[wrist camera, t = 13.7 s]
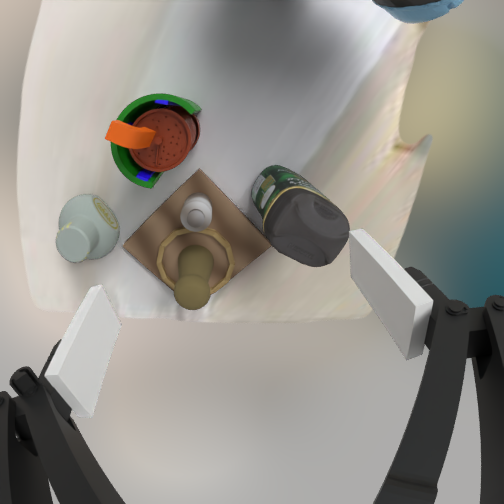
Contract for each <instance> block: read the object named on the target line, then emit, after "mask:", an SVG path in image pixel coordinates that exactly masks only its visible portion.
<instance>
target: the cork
mask: <svg viewBox="0 0 504 504" xmlns="http://www.w3.org/2000/svg"><path fill="white" fill-rule="evenodd" d="M213 265H214V259H213V255H212V254H211V252H210V251H209V250H208V249H206V248H205V247H203V246H200V245H191V246H187V247H186V248H184V249H183V250H182V251H181V252H180V254H179V257H178V274H179V280H178V281H177V282H176V284H175V287H174V297H175V299H176V301H177V303H178V304H179V305H180V306H182V307H183V308H185V309H188V310H197V309H200V308H202V307H203V306H205V305H206V304H207V303H208V301H209V298H210V286H209V284H208V282H209V279H210V275H211V272H212V269H213Z"/></svg>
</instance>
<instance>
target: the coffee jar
mask: <svg viewBox="0 0 504 504" xmlns="http://www.w3.org/2000/svg"><path fill="white" fill-rule="evenodd" d="M252 199H253V202H254V204H255V206H256V207H257V209H258V211H259V213H260V214H261V216H262V219H263V230H264V233H265V235H266V237H267V239H268V240H269V242H270V243H271V245H272V246H273V247H274V248H275V249H276V250H277V251H278V252H280V253H282V254H284V255H286V256H288V257H290V258H292V259H294V260H296V261H298V262H300V263H302V264H305V265H308V266H312V267H321V266H325V265H327V264H330V263H331V262H332V261H333V260H334V259H335V258H336V257H337V255H338V254H339V253H340V251H341V250H342V248H343V247H344V245H345V244H346V242H347V240H348V238H349V231H350V227H349V222H348V220H347V218H346V216H345V215H344V214H343V213H342V211H341V210H340V209H339V208H338V207H337V206H336V205H334V204H333V203H332V202H331V201H330V200H329V199H328V198H327V197H326V196H324V195H323V194H322V193H321V192H320V191H319V190H318V189H316V188H315V187H314V186H313V185H311V184H310V183H309V182H308V181H307V180H305V179H304V178H303V177H301V176H300V175H298V174H297V173H295V172H293V171H291V170H289V169H287V168H285V167H282V166H278V165H274V166H270V167H268V168H266V169H265V170H264V171H263V172H262V173H261V174H260V176H259V177H258V179H257V180H256V182H255V184H254V187H253V189H252Z"/></svg>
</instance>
